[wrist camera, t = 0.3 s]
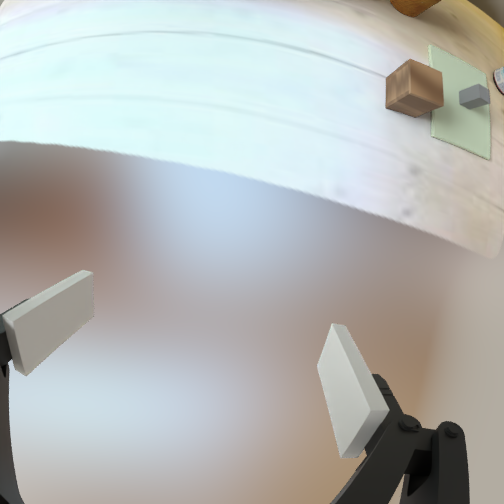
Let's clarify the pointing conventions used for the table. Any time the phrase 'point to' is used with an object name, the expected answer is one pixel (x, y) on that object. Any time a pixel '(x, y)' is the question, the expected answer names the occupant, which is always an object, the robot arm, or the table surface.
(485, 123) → the post board
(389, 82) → the box
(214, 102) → the table surface
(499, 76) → the teal and black cylinder
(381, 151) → the table surface
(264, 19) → the table surface
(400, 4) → the disposable coffee cup
